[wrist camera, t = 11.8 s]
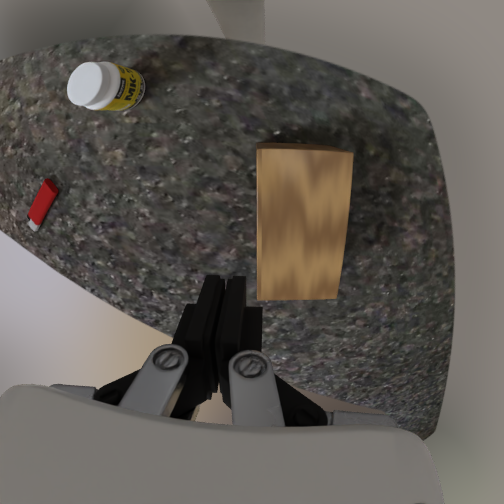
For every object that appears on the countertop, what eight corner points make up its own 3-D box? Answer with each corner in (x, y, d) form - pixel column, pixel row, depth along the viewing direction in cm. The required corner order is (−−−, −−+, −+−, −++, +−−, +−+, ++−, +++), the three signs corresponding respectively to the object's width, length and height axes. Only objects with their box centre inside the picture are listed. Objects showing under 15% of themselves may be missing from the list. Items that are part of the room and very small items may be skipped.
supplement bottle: (147, 105, 25) (107, 102, 17) (110, 114, 25) (64, 117, 18) (145, 65, 23) (105, 50, 15) (108, 76, 23) (63, 68, 16)
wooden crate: (256, 148, 19) (353, 152, 19) (256, 142, 26) (327, 144, 26) (257, 300, 25) (336, 298, 25) (256, 259, 32) (319, 259, 32)
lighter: (54, 194, 28) (34, 232, 31) (60, 191, 29) (39, 229, 32) (43, 179, 27) (24, 219, 30) (48, 177, 28) (29, 216, 31)
